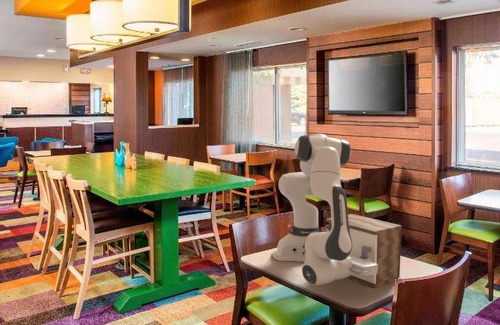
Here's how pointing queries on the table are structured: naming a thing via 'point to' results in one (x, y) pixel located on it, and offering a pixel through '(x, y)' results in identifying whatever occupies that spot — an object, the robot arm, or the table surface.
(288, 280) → the table surface
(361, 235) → the sliding door
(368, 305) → the table surface
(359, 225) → the cabinet
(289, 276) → the table surface
